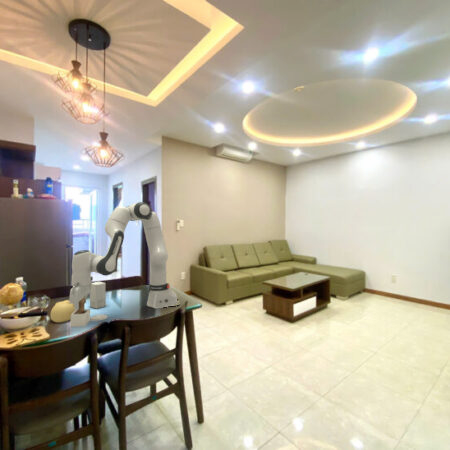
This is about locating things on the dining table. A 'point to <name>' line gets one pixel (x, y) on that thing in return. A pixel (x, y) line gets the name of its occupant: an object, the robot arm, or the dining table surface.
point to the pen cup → (80, 318)
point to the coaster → (98, 317)
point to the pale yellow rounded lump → (62, 311)
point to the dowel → (81, 306)
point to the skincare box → (98, 295)
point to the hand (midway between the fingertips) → (80, 306)
